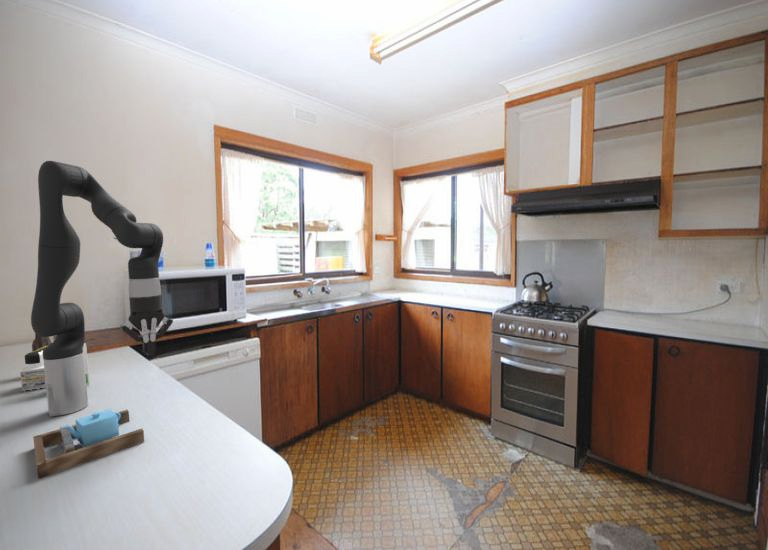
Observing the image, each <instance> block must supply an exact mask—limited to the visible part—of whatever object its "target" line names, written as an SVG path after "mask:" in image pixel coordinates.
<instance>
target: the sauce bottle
mask: <svg viewBox="0 0 768 550" xmlns="http://www.w3.org/2000/svg"><path fill="white" fill-rule="evenodd" d="M34 336H35V337H34V339H33V341H32V343H31V352H34V351H42V350H44V349H45V348H46V347H47V346H49V345H50V344H51V343H53V342H52V340H51V339H50V337H41V336H38V335H37V334H36V333H35V332H34Z"/></svg>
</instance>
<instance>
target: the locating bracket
mask: <svg viewBox="0 0 768 550" xmlns="http://www.w3.org/2000/svg"><path fill="white" fill-rule="evenodd" d="M118 412H119V413H120V415H121V417H120V419H119V421H118V424H119V425H121V424H124V423H127V422H130V414H129V413H130V412H129V410H128V409H125V410H121V411H118ZM116 415H117V417H118V414H116ZM71 426H72V427H73V428H74V430H75V431H77V430H76V423H75V424H72V425H71ZM70 434H71V433H70ZM71 437H72V440H73V439H75V438H74V437H73V436H72V435H71ZM32 438H33V446H34V453H35V454H34V455H35V462H36V469H37V471H36V472H37V478H38V479H43V478H45V477H48V476H51V475H53V474H56V473H60V472H62V471H65V470H68V469H71V468H73V467H76V466H77V467H78V466H79V465H83V464H84V463H88V462H91V461H94V460H96V459H98V458H99V459H100V458H101V457H105V456H107V455H110V454H113V453H116V452H119V451H122V450H124V449H127V448H130V447H133V446H135V445H138V444H141V443H144V442H145V433H144V429H143V428H139V429H136V430H132V431H129V432H126V433H124V434H119V435H118V436H116V437H113V438H111V439H108V440H105V441H102V442H99V443H96V444H93V445H90V446H87V447H81V448H78V449H74V451H71V452H68V453H65V454H64V453H63V454H60V455H57V456H54V457H50V458H47V457H46V452H45V448H48V447H51V446H53V445H57V444H60V443H61V434H60V428H58V429H56V430H52V431H48V432H44V433H40V434H37V435H35V436H34V435H33V437H32ZM46 458H47V459H46ZM38 479H37V480H38Z"/></svg>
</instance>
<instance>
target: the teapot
mask: <svg viewBox="0 0 768 550" xmlns="http://www.w3.org/2000/svg"><path fill="white" fill-rule="evenodd" d="M119 412H120V411H112V410H111V409H109V408H108V409H106V410H102V411H96V412H93V413H92V414H89V415H85V416H84V417H83V416H82V417H79V418H77V419H75V424H76V430H77V431H75V430H74V428H73V427H72V425H68V426H67V425H64V427H63V426H61V427H62V428H65V429H68V430H69V431H70V433H71V435H72V436H73V437H74V438H73V439H76V440H77V442H78V443H79V444H80V445H81V446H82V448H84V447H87V446H90V445H93V444H96V443H99V442H102V441H105V440H108V439H111V438H114V437H117V436H120V431H119V428H120V424H118V421H119V419H120V417H121V415H120V413H119ZM116 414H118V417H117V415H116Z"/></svg>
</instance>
